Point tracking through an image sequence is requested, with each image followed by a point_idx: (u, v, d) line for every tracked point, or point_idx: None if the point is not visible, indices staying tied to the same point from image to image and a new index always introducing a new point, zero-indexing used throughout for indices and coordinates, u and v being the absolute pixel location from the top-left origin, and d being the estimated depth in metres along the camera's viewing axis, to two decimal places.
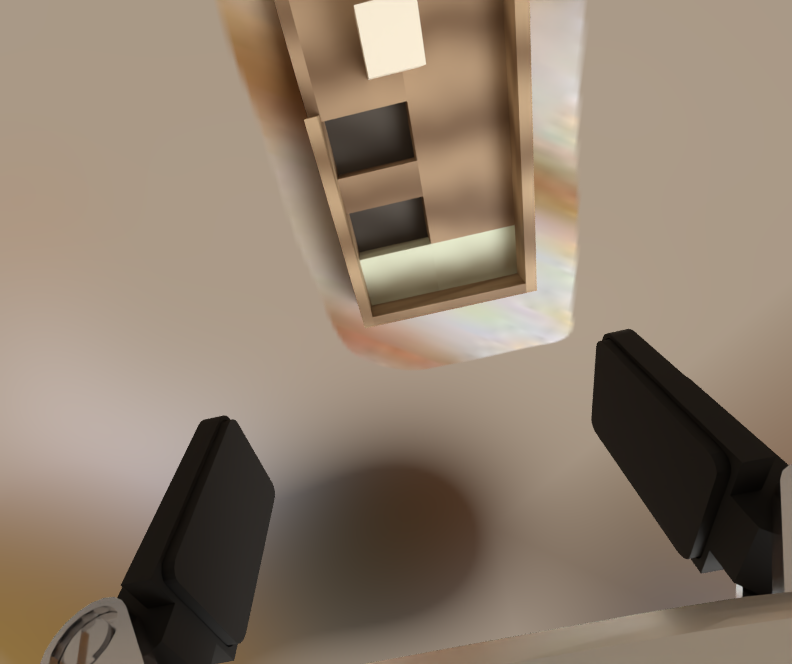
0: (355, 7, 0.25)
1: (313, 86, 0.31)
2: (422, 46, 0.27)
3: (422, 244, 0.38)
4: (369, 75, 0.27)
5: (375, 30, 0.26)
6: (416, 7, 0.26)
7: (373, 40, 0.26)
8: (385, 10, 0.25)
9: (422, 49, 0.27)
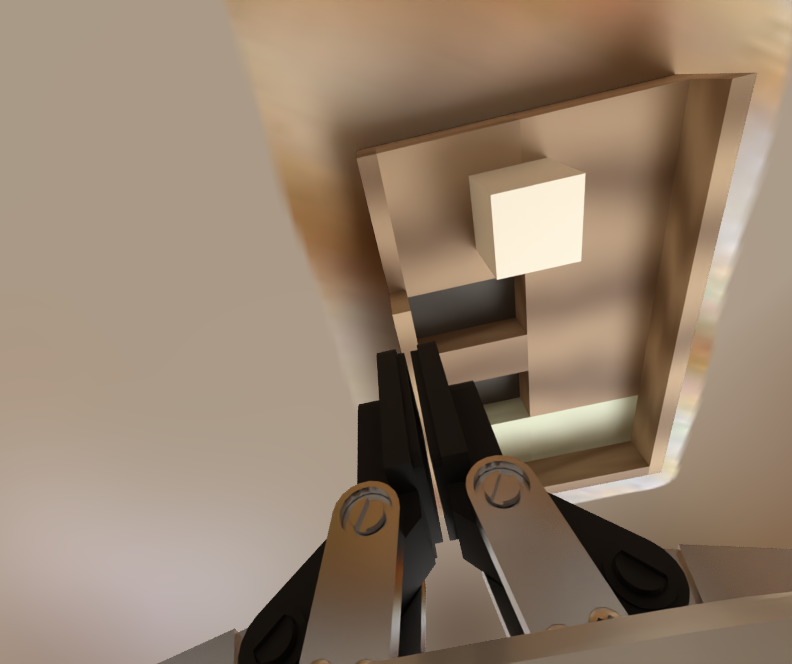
0: (492, 197, 0.17)
1: (400, 259, 0.22)
2: (580, 241, 0.18)
3: (517, 415, 0.30)
4: (498, 276, 0.19)
5: (517, 224, 0.18)
6: (582, 195, 0.17)
7: (512, 236, 0.18)
8: (535, 200, 0.17)
9: (579, 244, 0.18)
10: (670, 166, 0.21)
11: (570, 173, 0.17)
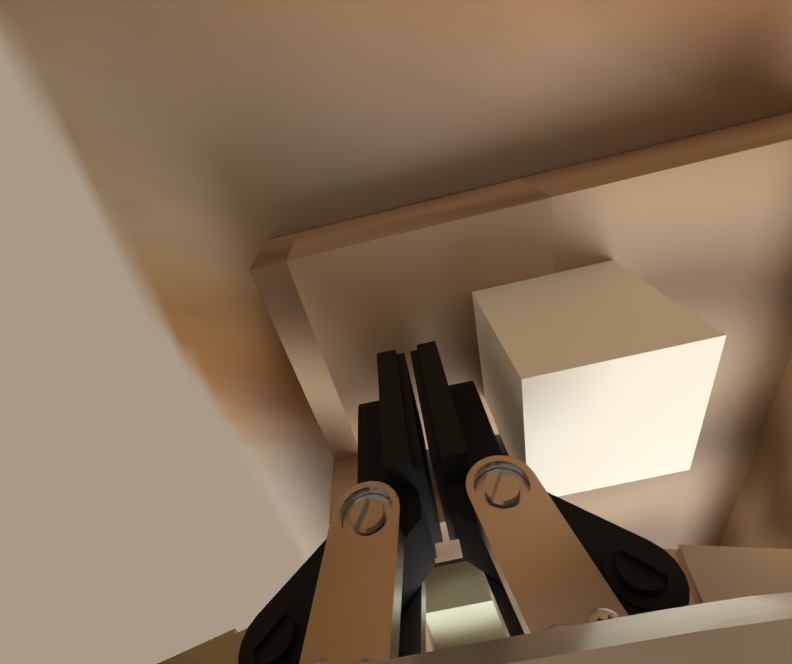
0: (525, 383, 0.08)
1: (348, 413, 0.13)
2: (694, 441, 0.09)
3: None
4: None
5: (573, 422, 0.09)
6: (711, 372, 0.08)
7: (562, 440, 0.09)
8: (614, 384, 0.08)
9: (691, 446, 0.09)
10: None
11: (687, 327, 0.08)
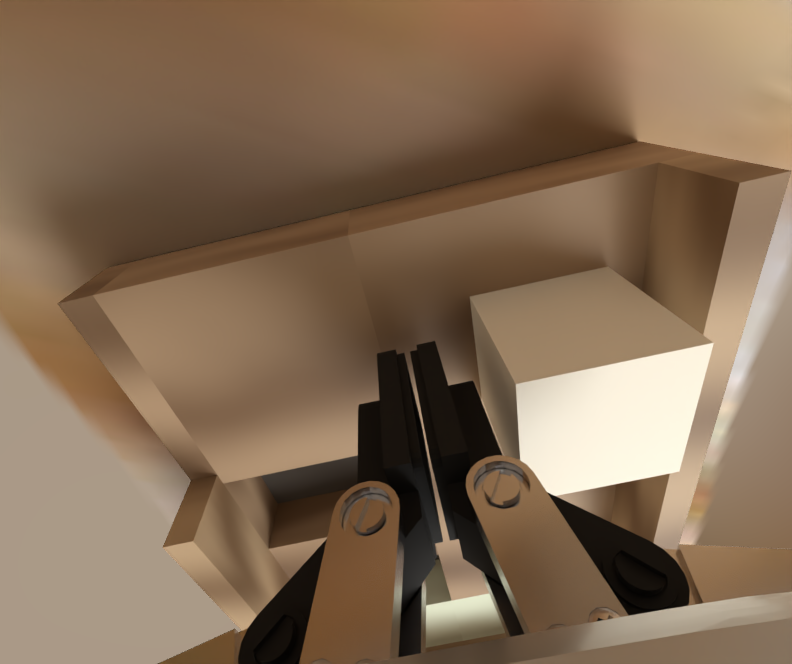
0: (519, 387, 0.08)
1: (194, 437, 0.14)
2: (683, 444, 0.10)
3: (435, 594, 0.21)
4: None
5: (566, 426, 0.09)
6: (699, 378, 0.08)
7: (556, 443, 0.09)
8: (605, 389, 0.08)
9: (680, 448, 0.10)
10: None
11: (676, 335, 0.08)
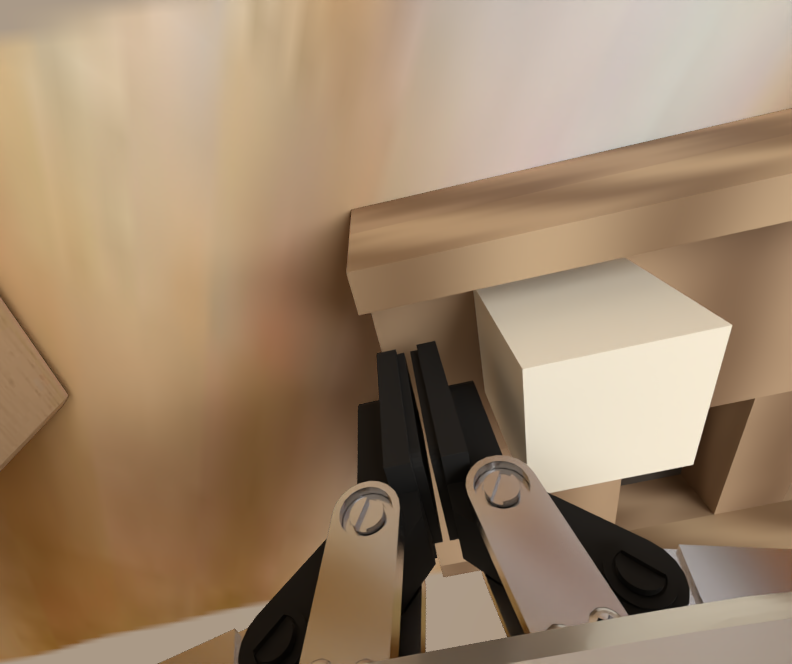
0: None
1: None
2: (677, 339, 0.08)
3: None
4: (687, 464, 0.10)
5: (593, 455, 0.09)
6: (568, 364, 0.08)
7: (613, 458, 0.09)
8: (555, 438, 0.09)
9: (684, 338, 0.08)
10: None
11: (515, 370, 0.08)
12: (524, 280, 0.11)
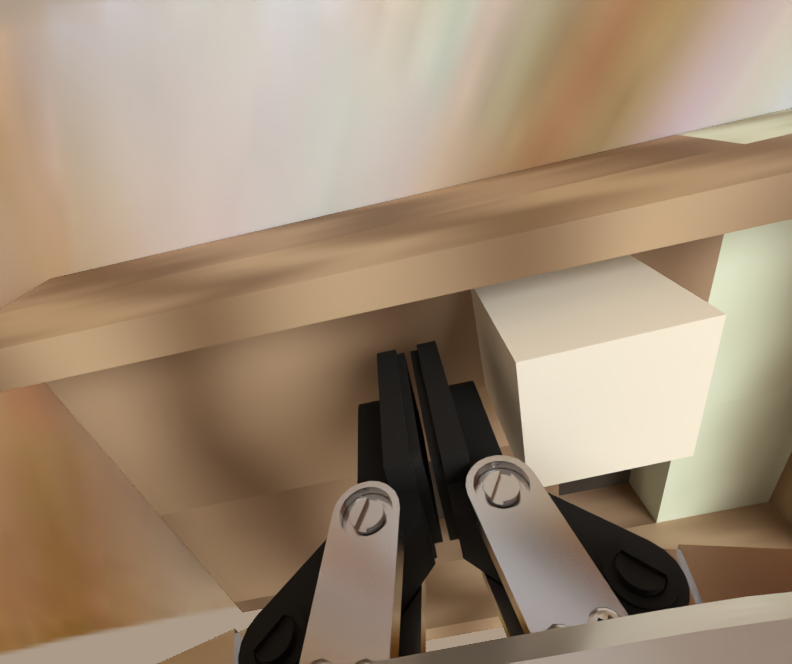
0: None
1: None
2: (670, 330, 0.08)
3: None
4: (687, 455, 0.10)
5: (591, 447, 0.09)
6: (562, 356, 0.08)
7: (611, 450, 0.09)
8: (552, 431, 0.09)
9: (678, 328, 0.08)
10: None
11: (510, 364, 0.08)
12: None
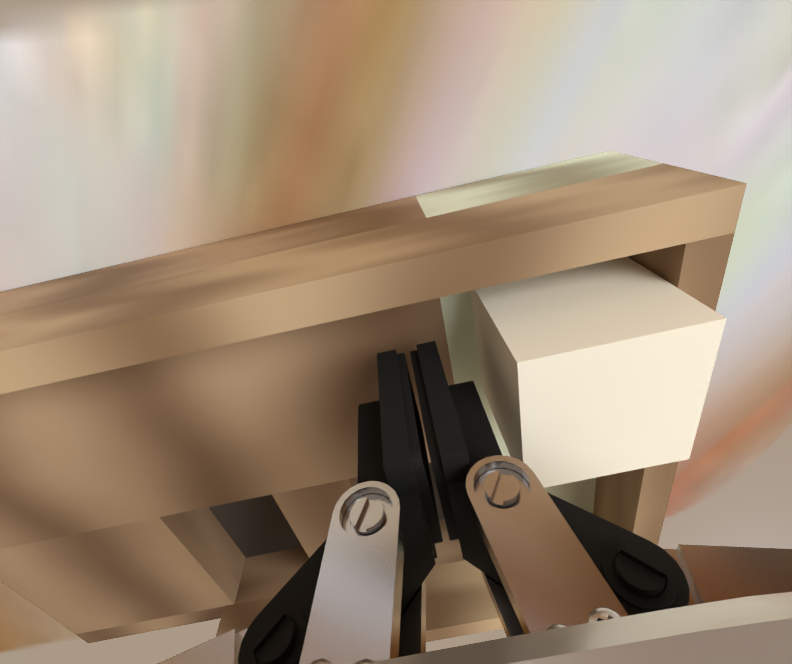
0: None
1: (184, 612, 0.19)
2: (671, 333, 0.08)
3: None
4: (683, 458, 0.10)
5: (588, 449, 0.09)
6: (563, 357, 0.08)
7: (609, 452, 0.09)
8: (551, 432, 0.09)
9: (679, 332, 0.08)
10: None
11: (511, 365, 0.08)
12: None
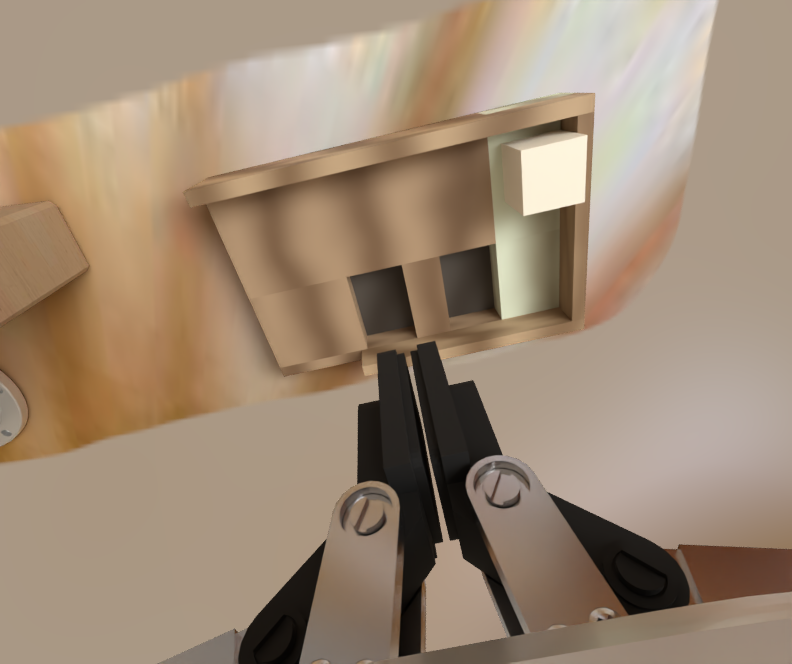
0: (525, 214, 0.26)
1: (340, 353, 0.35)
2: (570, 140, 0.24)
3: (495, 251, 0.32)
4: (582, 201, 0.26)
5: (546, 194, 0.25)
6: (535, 149, 0.24)
7: (554, 196, 0.25)
8: (532, 184, 0.25)
9: (572, 140, 0.24)
10: None
11: (518, 156, 0.25)
12: (522, 139, 0.27)
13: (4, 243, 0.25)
